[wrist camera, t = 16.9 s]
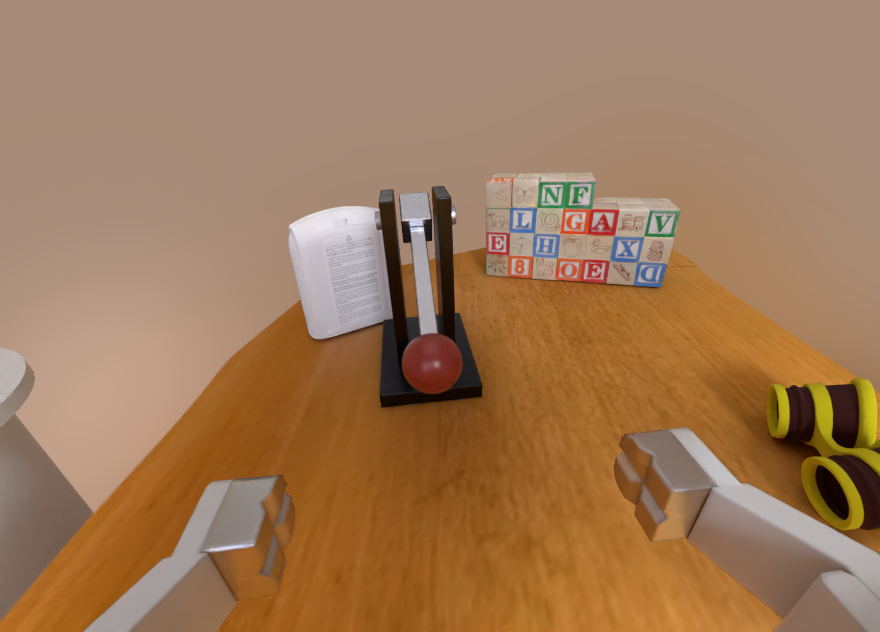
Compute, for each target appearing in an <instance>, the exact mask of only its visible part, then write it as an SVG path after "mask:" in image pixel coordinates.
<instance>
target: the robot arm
mask: <svg viewBox="0 0 880 632" xmlns="http://www.w3.org/2000/svg"><path fill="white" fill-rule="evenodd" d="M619 446H620V447H621V449H622V450H623V452H622V453H621V454H620V455H618V456H617V457H616V459H615V464H614V473H615V479H616V482H617V484H618V487H619V489H620V491H621V493H622V494H623V496H624V498H626V499H627V500H629V501H630V502H632V503H633V504H634V505H636V507H635V516H636V518H637V520H638V521H639V523H640V525H641V526H642V528H643V530H644V531H645V533H646V535H647V536H648V538H649V540H650V541H651V543H652V542H661V541H670V540H680V539H687V541H688V542H689V543H690V544H691V545H693V546H694V547H695V548H696V549H698V550H699V551H700V552H701V553H702V554H704V555H705V556H706V557H707V558H709V559H710V560H711V561H712V562H714V563H715V564H716V565H717V566H719V567H720V568H721V569H722V570H723V571H725V572H726V573H727V574H728V575H730V576H731V577H732V578H733V579H735V580H736V581H737V582H738V583H739V584H741V585H742V586H743V587H744V588H746V589H747V590H748V591H749V592H751V593H752V594H753V595H754V596H755V597H757V598H758V599H759V600H760V601H762V602H763V603H764V604H765V605H767V606H768V607H769V608H770V609H771V610H773V611H774V612H775V613H776V614H778V615H779V616H780V617H781V618H783V619H782V621H781V622H780V623H779V624H778V625H777V627H776V628H775V629H774V630H773V631H772V632H880V554H879V553H877V552H875V551H873V550H871V549H869V548H868V547H866V546H864V545H862V544H860V543H858V542H856V541H854V540H853V539H851V538H849V537H847V536H845V535H843V534H841V533H840V532H838V531H836V530H834V529H832V528H830V527H828V526H826V525H825V524H823V523H821V522H819V521H817V520H815V519H813V518H811V517H810V516H808V515H806V514H804V513H802V512H800V511H798V510H797V509H795V508H793V507H791V506H789V505H787V504H785V503H783V502H782V501H780V500H778V499H776V498H774V497H772V496H770V495H768V494H767V493H765V492H763V491H761V490H759V489H757V488H755V487H754V486H752V485H750V484H748V483H743V484H741V483H740V482H739V481H738V480H737V479H736V478H735V477H734V476H733V475H732V474H731V472H730V471H729V470H728V469H727V468H726V467H725V466H724V465H723V464H722V463H721V462H720V461H719V460H718V458H717V457H716V456H715V455H714V454H713V453H712V452H711V451H710V450H709V449H708V448H707V447H706V446H705V444H704V443H703V442H702V441H701V440H700V439H699V438H698V437H697V436H696V435H695V434H694V433H693V432H692V431H691V430H690V429H688V428H686V427H683V428H674V429H666V430H655V431H647V432H639V433H632V434H625V435H624V436H623V437H622V438H621V441H620V444H619ZM286 486H287V483H286V481H285V479H284V476H283V475H275V476H263V477H252V478H241V479H232V480H222V481H212V482H211V483H210V484H209V485H208V486H207V487H206V488H205V490H204V492H203V494H202V496H201V498H200V500H199V502H198V504H197V506H196V508H195V510H194V512H193V514H192V516H191V518H190V520H189V522H188V524H187V526H186V528H185V530H184V532H183V534H182V536H181V538H180V540H179V542H178V544H177V546H176V548H175V550H174V552H173V554H172V556H171V557H168V558H163V559H162V560H161V561H160V562H159V563H158V564H157V565H155V566H154V567H153V568H152V569H151V570H150V571H149V572H148V573H147V574H146V575H144V576H143V577H142V578H141V579H140V580H139V581H138V582H137V583H136V584H135V585H134V586H132V587H131V588H130V589H129V590H128V591H127V592H126V593H125V594H124V595H123V596H121V597H120V598H119V599H118V600H117V601H116V602H115V603H114V604H113V605H112V606H111V607H109V608H108V609H107V610H106V611H105V612H104V613H103V614H102V615H101V616H100V617H98V618H97V619H96V620H95V621H94V622H93V623H92V624H91V625H90V626H89V627H88V628H86V629H85V630H84V631H83V632H217V631H218V630H219V628H220V627H221V625H222V624H223V623H224V621H225V620H226V619H227V617H228V616H229V615H230V613H231V612H232V611H233V609H234V608H235V606H236V605H237V601H240V600H246V599H252V598H258V597H264V596H270V595H276V594H279V591H280V586H281V582H282V578H283V574H284V570H285V566H286V558H285V556H284V553H283V550H284V548H285V547H286V546H287V545H288V544H289V543H290V541H291V540H292V536H293V531H294V525H295V508H294V502H293V500H292V497H291V496H289V495H288V494H286V493H285V490H286Z"/></svg>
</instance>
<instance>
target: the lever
mask: <svg viewBox="0 0 880 632" xmlns="http://www.w3.org/2000/svg"><path fill="white" fill-rule="evenodd" d="M399 202H400V214H401V225H402V233H403V242H404V243H411V250H412V260H413V270H414V280H415V290H416V300H417V310H418V320H419V330H420V336H418V337H416V338H415V339H413V340H412V341H411V342H410V343H409V344H408V346H407V347H406V349H405V351H404V354H403V357H402V370H403V373H404V376H405V378H406V380H407V381H408V382H409V384H410V385H411V386H412V387H413V388H415V389H416V390H418V391H420V392H423V393H427V394H436V393H441V392H444V391H446V390H448V389H449V388H451V387H452V386H453V385H454V384H455V383H456V381H457V380H458V378H459V376H460V374H461V371H462V356H461V353H460V350H459V348H458V347H457V345H456V344H455V343H454V342H453V341H452V340H451V339H450V338H448V337H447V336H444V335H442V334H438V328H437V321H436V313H435V305H434V297H433V289H432V282H431V274H430V266H429V258H428V250H427V242H426V241H432V217H431V209H430V202H429V195H428V192H422V193H407V194H399Z"/></svg>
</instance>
